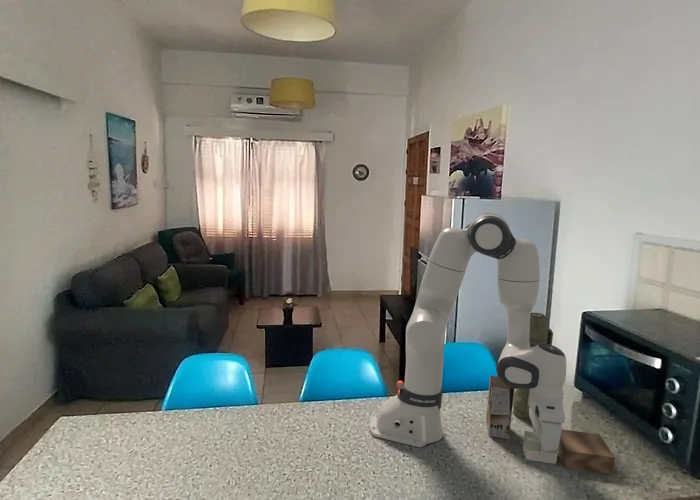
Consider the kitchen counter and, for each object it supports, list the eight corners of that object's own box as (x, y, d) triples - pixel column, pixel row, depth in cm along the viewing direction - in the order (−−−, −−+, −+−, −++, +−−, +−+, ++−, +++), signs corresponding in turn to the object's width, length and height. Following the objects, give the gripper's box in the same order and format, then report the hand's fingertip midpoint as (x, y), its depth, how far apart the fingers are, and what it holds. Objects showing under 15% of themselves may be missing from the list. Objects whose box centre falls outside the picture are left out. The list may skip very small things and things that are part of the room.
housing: (526, 459, 132) (528, 439, 131) (522, 450, 136) (524, 430, 136) (556, 463, 130) (558, 443, 129) (551, 453, 135) (553, 434, 134)
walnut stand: (565, 467, 128) (567, 450, 128) (554, 444, 140) (556, 428, 139) (612, 474, 126) (614, 457, 126) (597, 449, 138) (599, 434, 137)
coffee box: (509, 439, 142) (515, 389, 139) (487, 436, 143) (492, 386, 141) (506, 424, 151) (510, 377, 148) (485, 421, 152) (489, 374, 150)
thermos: (503, 410, 160) (512, 311, 155) (533, 407, 163) (543, 310, 158) (518, 423, 152) (529, 318, 147) (549, 420, 155) (561, 318, 150)
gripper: (526, 385, 142) (521, 427, 144) (541, 417, 122) (535, 466, 124) (548, 387, 141) (543, 430, 143) (567, 420, 121) (561, 470, 123)
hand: (539, 447), depth 133 cm, fingers open, 7 cm apart
